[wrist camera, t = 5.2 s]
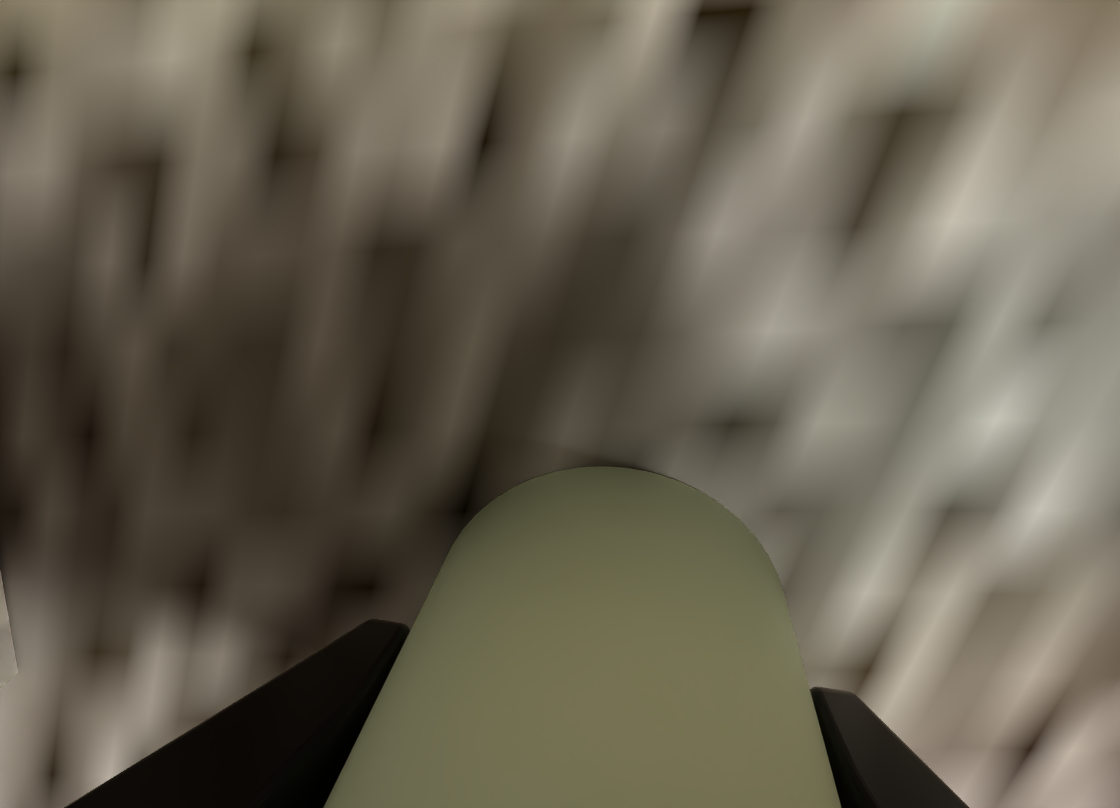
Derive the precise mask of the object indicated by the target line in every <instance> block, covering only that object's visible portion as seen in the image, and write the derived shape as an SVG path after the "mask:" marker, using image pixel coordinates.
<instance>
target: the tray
mask: <svg viewBox="0 0 1120 808" xmlns="http://www.w3.org/2000/svg"><path fill="white" fill-rule="evenodd" d="M17 673H18V668H17V662H16V656H15V651H14V645H13V639H12V634H11V628H10V622H9V617H8V611H7V606H6V600H5V594H4V589H3V583H2V577H1V572H0V688H1V687H2V686H3V685H4V684H6V683H7V682H8V681H9V680H10V679H11V678H13V677H14V676H15V675H16V674H17Z"/></svg>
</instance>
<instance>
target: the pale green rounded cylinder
mask: <svg viewBox="0 0 1120 808" xmlns="http://www.w3.org/2000/svg"><path fill="white" fill-rule="evenodd" d="M323 808H841V804H840V800H839V796H838V793H837V789H836V785H835V781H834V778H833V774H832V770H831V767H830V763H829V759H828V755H827V752H826V748H825V744H824V741H823V737H822V733H821V729H820V726H819V722H818V718H817V714H816V711H815V707H814V703H813V700H812V696H811V692H810V688H809V685H808V681H807V677H806V673H805V670H804V666H803V662H802V659H801V655H800V651H799V647H798V644H797V640H796V636H795V632H794V629H793V625H792V621H791V618H790V614H789V610H788V606H787V603H786V599H785V595H784V592H783V589H782V586H781V583H780V580H779V577H778V574H777V572H776V570H775V568H774V566H773V564H772V562H771V560H770V558H769V556H768V554H767V553H766V551H765V550H764V548H763V547H762V546H761V544H760V543H759V541H758V540H757V539H756V537H755V536H754V535H753V534H752V532H751V531H750V530H749V529H748V528H747V527H746V526H745V525H744V524H743V523H742V522H741V521H740V520H739V519H738V518H737V517H736V516H735V515H733V514H732V513H731V512H730V511H729V510H727V509H726V508H725V507H724V506H722V505H721V504H720V503H718V502H717V501H715V500H713V499H712V498H710V497H709V496H707V495H705V494H704V493H702V492H701V491H699V490H697V489H694V488H692V487H690V486H688V485H686V484H684V483H682V482H679V481H677V480H674V479H671V478H668V477H665V476H662V475H659V474H656V473H652V472H647V471H641V470H636V469H631V468H621V467H608V466H599V467H579V468H573V469H567V470H561V471H556V472H552V473H549V474H546V475H542V476H539V477H536V478H533V479H531V480H528V481H526V482H524V483H522V484H519V485H517V486H515V487H513V488H511V489H509V490H508V491H506V492H505V493H503V494H501V495H500V496H498V497H497V498H495V499H493V500H492V501H491V502H490V503H489V504H488V505H486V506H485V507H484V508H483V509H482V510H480V511H479V512H478V513H477V514H476V515H475V516H474V517H473V518H472V519H471V521H470V522H469V523H468V524H467V525H466V526H465V527H464V528H463V530H462V531H461V533H460V534H459V536H458V537H457V539H456V540H455V542H454V544H453V545H452V547H451V549H450V551H449V553H448V555H447V557H446V559H445V561H444V563H443V565H442V567H441V569H440V571H439V573H438V575H437V577H436V579H435V582H434V584H433V586H432V588H431V590H430V592H429V594H428V596H427V598H426V600H425V602H424V604H423V606H422V608H421V610H420V612H419V614H418V616H417V618H416V620H415V622H414V624H413V626H412V628H411V630H410V632H409V634H408V636H407V639H406V641H405V643H404V645H403V647H402V649H401V651H400V653H399V655H398V657H397V659H396V661H395V663H394V665H393V667H392V669H391V671H390V673H389V675H388V677H387V679H386V681H385V683H384V685H383V687H382V689H381V691H380V693H379V696H378V698H377V700H376V702H375V704H374V706H373V708H372V710H371V712H370V714H369V716H368V718H367V720H366V722H365V724H364V726H363V728H362V730H361V732H360V734H359V736H358V738H357V740H356V742H355V744H354V746H353V748H352V750H351V753H350V755H349V757H348V759H347V761H346V763H345V765H344V767H343V769H342V771H341V773H340V775H339V777H338V779H337V781H336V783H335V785H334V787H333V789H332V791H331V793H330V795H329V797H328V799H327V801H326V803H325V805H324V807H323Z"/></svg>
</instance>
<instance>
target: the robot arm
mask: <svg viewBox="0 0 1120 808" xmlns="http://www.w3.org/2000/svg"><path fill="white" fill-rule="evenodd" d="M409 632H410V630H409V628H408V626H407V625H406V624H403V623H397V622H390V621H384V620H377V619H371V620H368V621H366V622H364V623H363V624H361V625H359V626H358V627H356V628H355V629H353V630H351V631H350V632H348V633H346V634H345V635H343V636H342V637H340V638H338V639H337V640H335V641H333V642H332V643H330V644H329V645H327V646H325V647H324V648H322V649H320V650H319V651H317V652H316V653H314V654H312V655H311V656H309V657H307V658H306V659H304V660H303V661H301V662H299V663H298V664H296V665H295V666H293V667H291V668H290V669H288V670H286V671H285V672H283V673H282V674H280V675H278V676H277V677H275V678H273V679H272V680H270V681H269V682H267V683H265V684H264V685H262V686H260V687H259V688H257V689H256V690H254V691H252V692H251V693H249V694H247V695H246V696H244V697H243V698H241V699H239V700H238V701H236V702H234V703H233V704H231V705H230V706H228V707H226V708H225V709H223V710H222V711H220V712H218V713H217V714H215V715H213V716H212V717H210V718H209V719H207V720H205V721H204V722H202V723H200V724H199V725H197V726H196V727H194V728H192V729H191V730H189V731H187V732H186V733H184V734H183V735H181V736H179V737H178V738H176V739H174V740H173V741H171V742H170V743H168V744H166V745H165V746H163V747H162V748H160V749H158V750H157V751H155V752H153V753H152V754H150V755H149V756H147V757H145V758H144V759H142V760H140V761H139V762H137V763H136V764H134V765H132V766H131V767H129V768H127V769H126V770H124V771H123V772H121V773H119V774H118V775H116V776H114V777H113V778H111V779H110V780H108V781H106V782H105V783H103V784H102V785H100V786H98V787H97V788H95V789H93V790H92V791H90V792H89V793H87V794H85V795H84V796H82V797H80V798H79V799H77V800H76V801H74V802H72V803H71V804H69V805H67V806H66V807H64V808H323V807H324V805H325V803H326V801H327V799H328V797H329V795H330V793H331V791H332V789H333V787H334V785H335V783H336V781H337V779H338V777H339V775H340V773H341V771H342V769H343V767H344V765H345V763H346V761H347V759H348V757H349V755H350V753H351V750H352V748H353V746H354V744H355V742H356V740H357V738H358V736H359V734H360V732H361V730H362V728H363V726H364V724H365V722H366V720H367V718H368V716H369V714H370V712H371V710H372V708H373V706H374V704H375V702H376V700H377V698H378V696H379V693H380V691H381V689H382V687H383V685H384V683H385V681H386V679H387V677H388V675H389V673H390V671H391V669H392V667H393V665H394V663H395V661H396V659H397V657H398V655H399V653H400V651H401V649H402V647H403V645H404V643H405V641H406V639H407V636H408V634H409ZM810 692H811V696H812V700H813V703H814V707H815V711H816V714H817V718H818V722H819V726H820V729H821V733H822V737H823V741H824V744H825V748H826V752H827V755H828V759H829V763H830V767H831V770H832V774H833V778H834V781H835V785H836V789H837V793H838V796H839V800H840V804H841V808H969V807H968V806H967V805H966V804H965V803H964V802H963V801H962V800H961V799H960V798H959V797H958V796H957V795H956V794H955V793H954V792H953V791H952V790H951V789H950V788H949V787H948V786H947V785H946V784H945V783H944V782H943V781H942V780H941V779H940V778H939V777H938V776H937V775H936V774H935V773H934V772H933V771H932V770H931V769H930V768H929V767H928V766H927V765H926V764H925V763H924V762H923V761H922V760H921V759H920V758H919V757H918V756H917V755H916V754H915V753H914V752H913V751H912V750H911V749H910V748H909V747H908V746H907V745H906V744H905V743H904V742H903V741H902V740H901V739H900V738H899V737H898V736H897V735H896V734H895V733H894V732H893V731H892V730H891V729H890V728H889V727H888V726H887V725H886V724H885V723H884V722H883V721H882V720H881V719H880V718H879V717H878V716H877V715H876V714H875V713H874V712H873V711H872V710H871V709H870V708H869V707H868V706H867V705H866V704H865V703H864V702H863V701H862V700H861V699H860V698H858V697H857V696H856V695H855V694H853V693H851V692H849V691H843V690H836V689H830V688H823V687H813V688H812V689H810Z"/></svg>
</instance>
